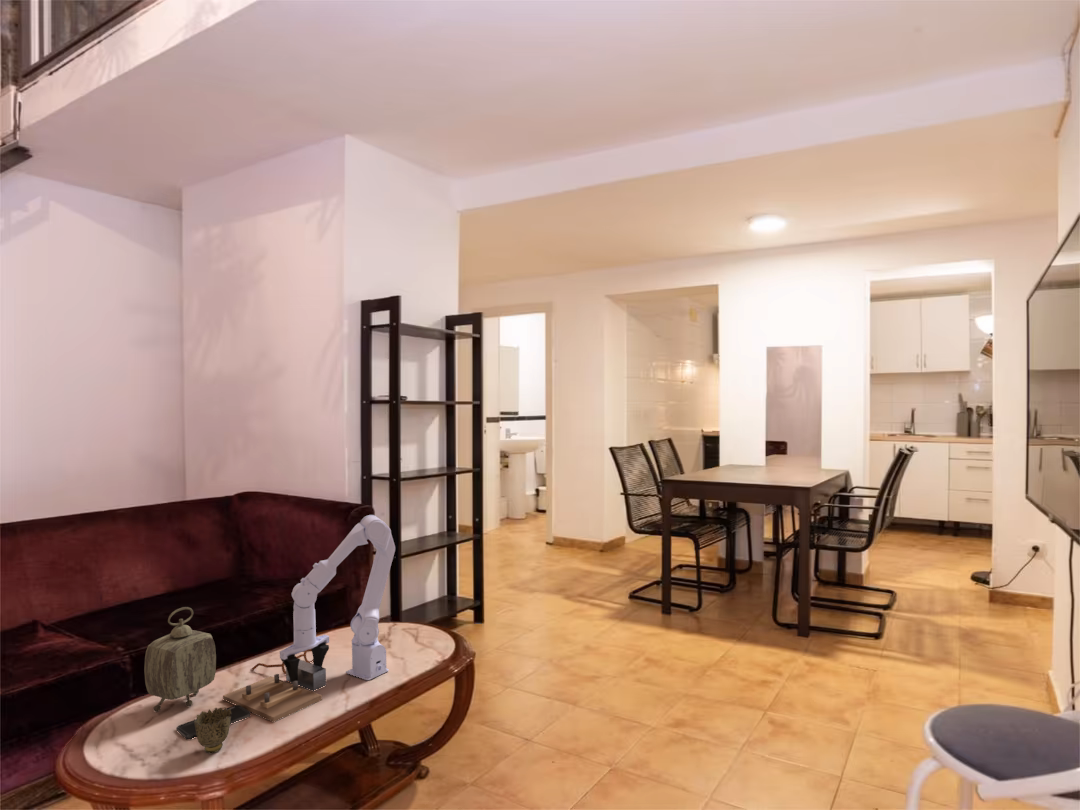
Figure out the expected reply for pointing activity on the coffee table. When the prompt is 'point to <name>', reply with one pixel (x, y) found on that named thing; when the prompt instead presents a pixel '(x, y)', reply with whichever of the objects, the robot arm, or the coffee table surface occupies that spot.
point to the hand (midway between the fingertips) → (305, 676)
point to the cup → (212, 728)
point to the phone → (189, 727)
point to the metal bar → (310, 675)
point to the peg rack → (272, 698)
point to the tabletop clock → (179, 662)
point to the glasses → (283, 663)
